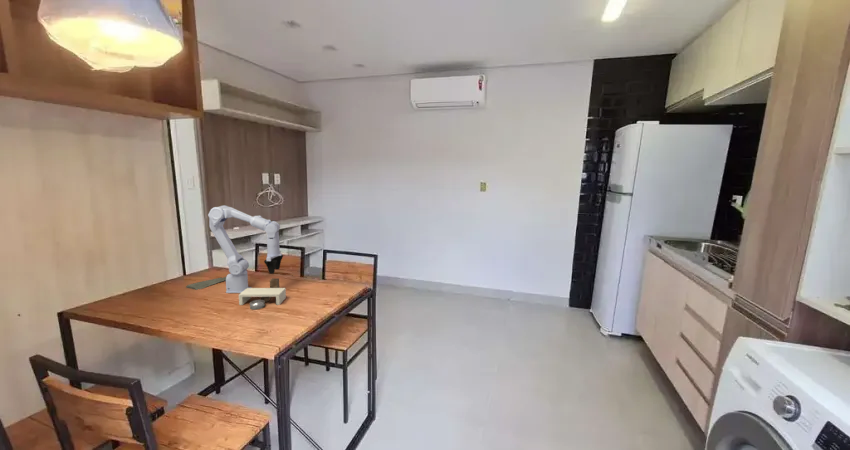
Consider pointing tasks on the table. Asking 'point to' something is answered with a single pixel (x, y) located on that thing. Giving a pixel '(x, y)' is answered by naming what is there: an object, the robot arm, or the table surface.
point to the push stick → (273, 284)
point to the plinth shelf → (263, 294)
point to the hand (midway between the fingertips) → (274, 271)
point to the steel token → (257, 304)
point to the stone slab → (205, 283)
